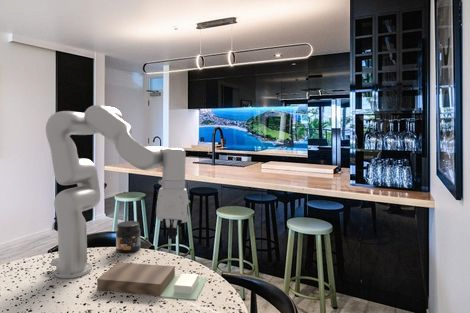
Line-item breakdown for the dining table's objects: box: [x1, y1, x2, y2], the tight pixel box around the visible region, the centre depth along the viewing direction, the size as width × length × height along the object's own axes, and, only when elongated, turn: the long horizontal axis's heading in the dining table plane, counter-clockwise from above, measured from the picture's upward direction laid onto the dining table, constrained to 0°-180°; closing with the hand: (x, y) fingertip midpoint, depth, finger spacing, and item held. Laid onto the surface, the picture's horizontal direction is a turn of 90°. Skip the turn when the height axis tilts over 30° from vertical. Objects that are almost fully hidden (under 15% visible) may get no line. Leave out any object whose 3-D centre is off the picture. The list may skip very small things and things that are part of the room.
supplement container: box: [115, 220, 142, 254], centre depth 142 cm, size 10×10×12 cm
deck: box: [96, 261, 176, 297], centre depth 110 cm, size 22×14×4 cm, turn 82°
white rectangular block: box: [174, 272, 200, 294], centre depth 108 cm, size 6×9×2 cm, turn 172°
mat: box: [159, 275, 208, 301], centre depth 108 cm, size 12×15×1 cm
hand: (172, 237), depth 108 cm, fingers closed
